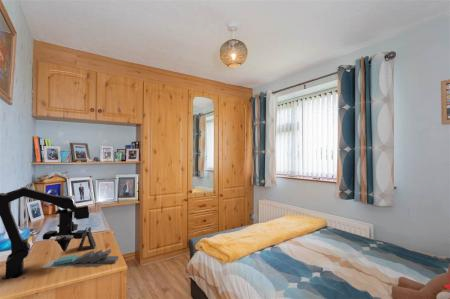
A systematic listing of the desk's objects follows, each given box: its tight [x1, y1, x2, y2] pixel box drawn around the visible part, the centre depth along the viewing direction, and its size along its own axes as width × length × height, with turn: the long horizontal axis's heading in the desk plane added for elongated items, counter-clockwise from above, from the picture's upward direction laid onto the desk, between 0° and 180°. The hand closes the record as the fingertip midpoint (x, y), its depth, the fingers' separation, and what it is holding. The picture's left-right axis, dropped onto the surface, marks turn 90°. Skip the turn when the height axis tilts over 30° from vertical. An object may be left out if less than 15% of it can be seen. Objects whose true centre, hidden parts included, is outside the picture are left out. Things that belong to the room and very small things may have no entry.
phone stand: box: [76, 226, 97, 252], centre depth 139 cm, size 9×6×12 cm, turn 110°
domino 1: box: [54, 253, 79, 266], centre depth 120 cm, size 5×2×9 cm
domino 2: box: [72, 249, 95, 265], centre depth 121 cm, size 5×2×9 cm
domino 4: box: [90, 248, 112, 263], centre depth 122 cm, size 5×2×9 cm
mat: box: [41, 259, 103, 269], centre depth 120 cm, size 8×28×1 cm, turn 97°
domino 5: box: [97, 255, 119, 265], centre depth 122 cm, size 5×2×9 cm
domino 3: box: [81, 249, 104, 264], centre depth 122 cm, size 5×2×9 cm
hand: (64, 251), depth 120 cm, fingers closed
